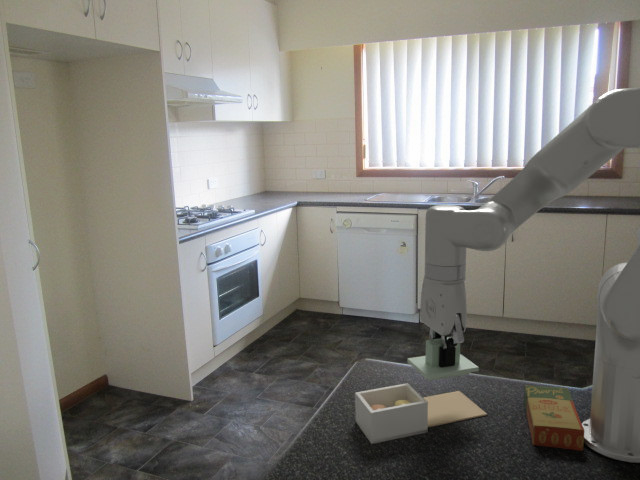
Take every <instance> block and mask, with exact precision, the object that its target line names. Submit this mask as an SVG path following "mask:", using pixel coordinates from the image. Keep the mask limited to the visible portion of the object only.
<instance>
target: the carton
mask: <svg viewBox="0 0 640 480" xmlns="http://www.w3.org/2000/svg"><path fill="white" fill-rule="evenodd" d="M523 393H524V394H523V404H524V409H525V413H526V418H527V423H528V424H527V425H528V428H529V433H530V438H531V442H532V443H531V444H532V446H539V447H548V448H549V447H550V448H556V449H557V448H559V449H567V450H573V451H574V450H575V451H581V452H583V451H584V444H585V443H584V432H585V431H584V428H583V426H582V423H583V422H582V421H581V418H580V416H579V413H578V411H577V409H576V405H575V403H574V400H573V398H572V395H571V393H570V390H569V388H567V387H559V386H558V387H557V386H545V385H544V386H541V385H530V384H525V385H524V391H523Z"/></svg>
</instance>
